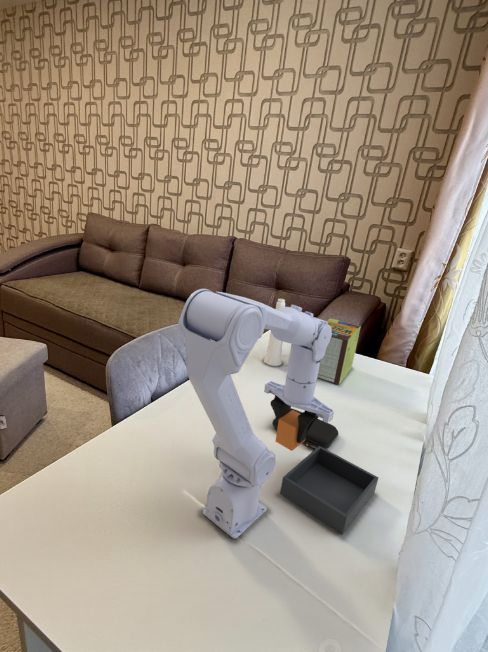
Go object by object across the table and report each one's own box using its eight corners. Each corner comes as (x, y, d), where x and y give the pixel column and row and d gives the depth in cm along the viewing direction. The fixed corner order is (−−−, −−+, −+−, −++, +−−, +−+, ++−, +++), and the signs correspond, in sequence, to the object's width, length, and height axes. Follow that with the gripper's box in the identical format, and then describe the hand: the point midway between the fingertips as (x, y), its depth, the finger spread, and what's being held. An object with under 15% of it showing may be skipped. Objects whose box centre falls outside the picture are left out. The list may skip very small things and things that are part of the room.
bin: (341, 536, 69) (346, 517, 68) (279, 495, 77) (282, 477, 76) (373, 494, 79) (378, 477, 78) (315, 462, 87) (319, 445, 86)
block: (291, 451, 78) (295, 428, 76) (275, 441, 80) (278, 418, 78) (305, 440, 81) (309, 418, 79) (288, 431, 84) (292, 409, 82)
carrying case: (266, 431, 96) (323, 458, 89) (267, 421, 95) (325, 447, 88) (286, 413, 105) (339, 436, 97) (287, 403, 103) (342, 426, 96)
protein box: (351, 367, 133) (361, 325, 128) (339, 385, 121) (349, 339, 115) (321, 359, 138) (329, 317, 132) (306, 375, 126) (314, 330, 120)
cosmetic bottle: (262, 364, 131) (271, 300, 122) (264, 356, 136) (272, 295, 128) (281, 367, 130) (290, 303, 121) (282, 359, 135) (291, 298, 127)
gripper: (346, 384, 73) (333, 444, 78) (281, 357, 82) (273, 413, 87) (328, 397, 68) (315, 460, 74) (261, 367, 77) (253, 425, 82)
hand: (291, 435), depth 80 cm, fingers closed on block, 4 cm apart
